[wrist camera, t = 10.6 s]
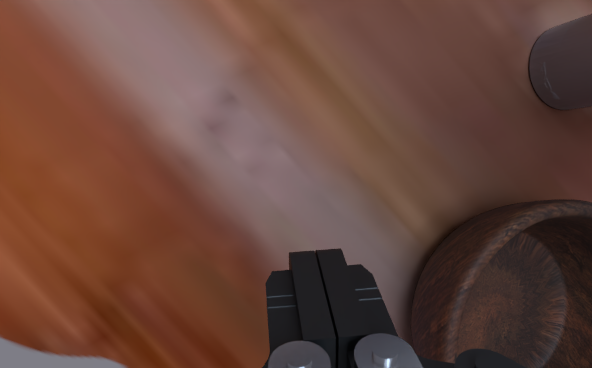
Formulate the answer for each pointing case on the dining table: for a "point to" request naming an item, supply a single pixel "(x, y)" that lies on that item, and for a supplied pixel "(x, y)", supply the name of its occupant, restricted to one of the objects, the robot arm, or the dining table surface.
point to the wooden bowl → (511, 287)
